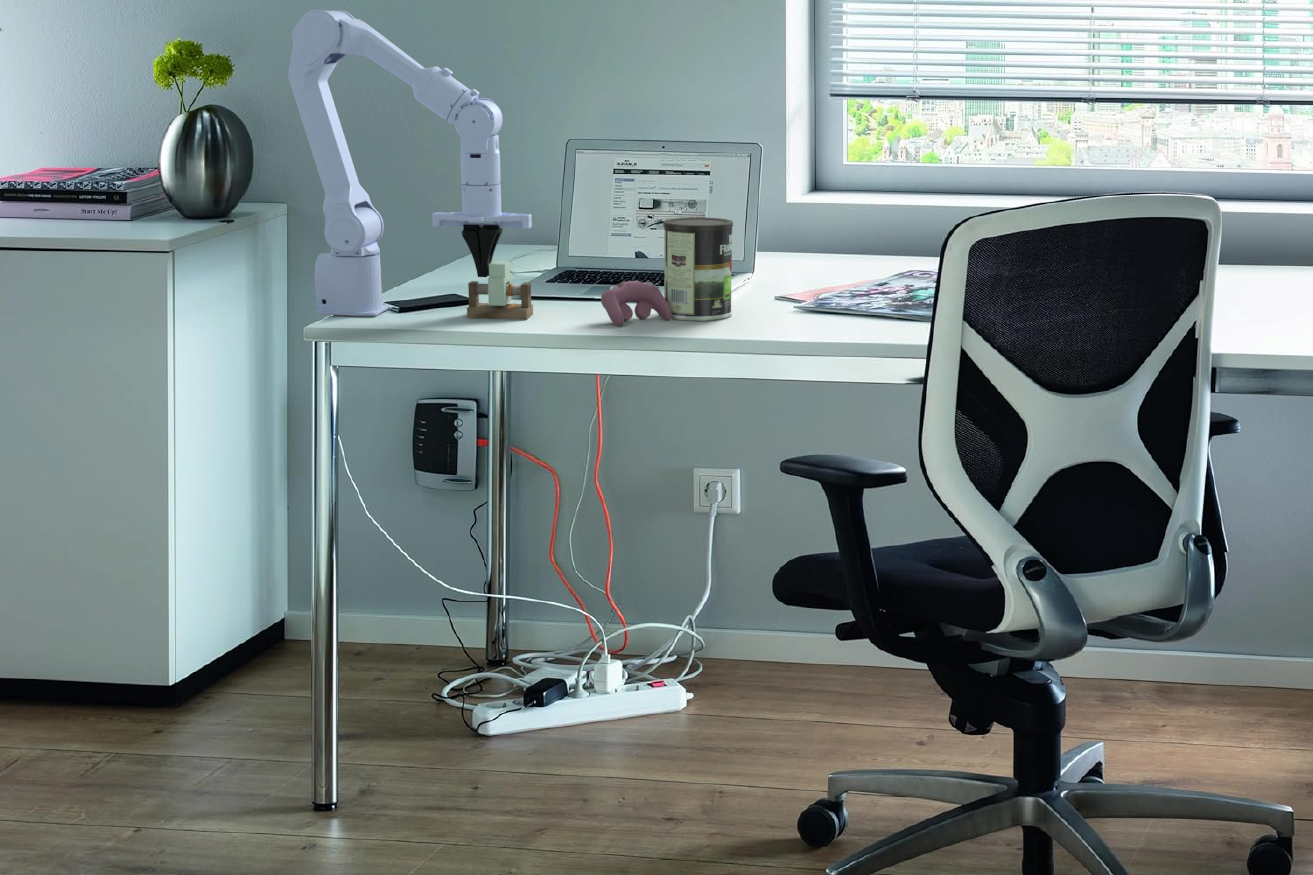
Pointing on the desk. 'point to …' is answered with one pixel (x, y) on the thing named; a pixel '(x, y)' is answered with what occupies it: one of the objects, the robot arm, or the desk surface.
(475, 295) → the rod stand
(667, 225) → the coffee can
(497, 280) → the mint green stepped block
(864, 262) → the desk surface
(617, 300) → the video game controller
